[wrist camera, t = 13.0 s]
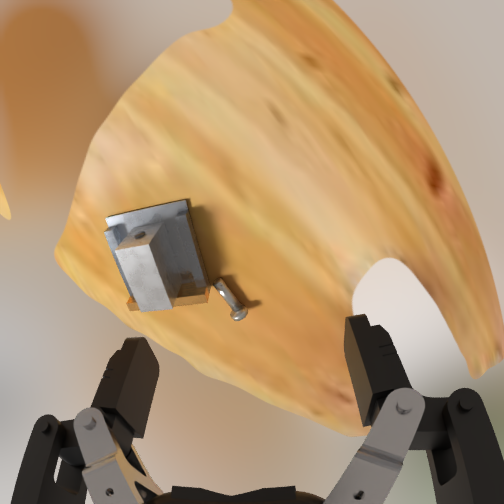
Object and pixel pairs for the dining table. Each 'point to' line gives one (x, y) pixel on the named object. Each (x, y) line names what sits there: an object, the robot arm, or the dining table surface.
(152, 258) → the grey metal block
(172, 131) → the dining table surface
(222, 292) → the hitch pin
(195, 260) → the grey channel bracket
